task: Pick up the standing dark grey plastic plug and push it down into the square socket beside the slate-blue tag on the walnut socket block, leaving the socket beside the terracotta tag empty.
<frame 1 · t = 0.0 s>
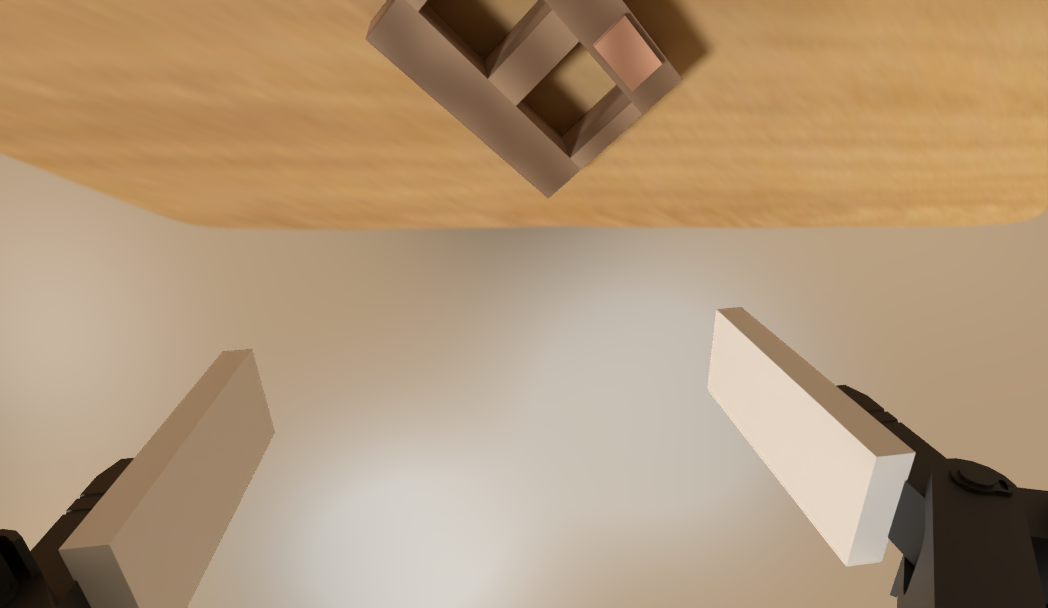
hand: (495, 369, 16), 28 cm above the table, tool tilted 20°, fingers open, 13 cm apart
socket block: (526, 42, 36), on the table
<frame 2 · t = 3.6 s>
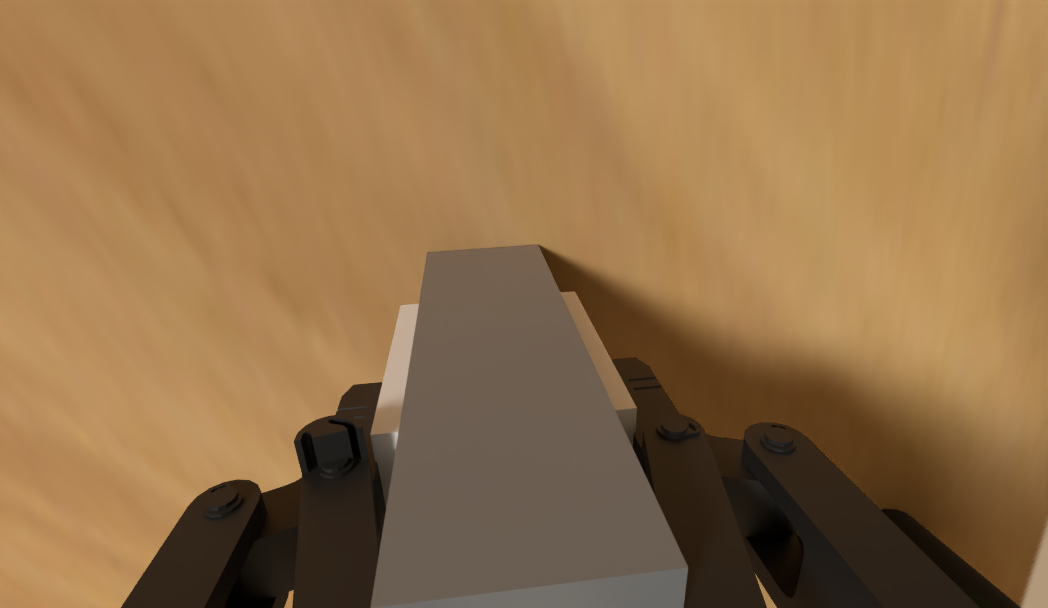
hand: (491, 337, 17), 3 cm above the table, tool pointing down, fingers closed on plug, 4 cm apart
plug: (486, 299, 20), on the table, touching gripper
cup: (865, 546, 29), on the table
when the fingers open (5 cm above the table, at t = 8.1 s): plug drops 2 cm, resting in socket block.
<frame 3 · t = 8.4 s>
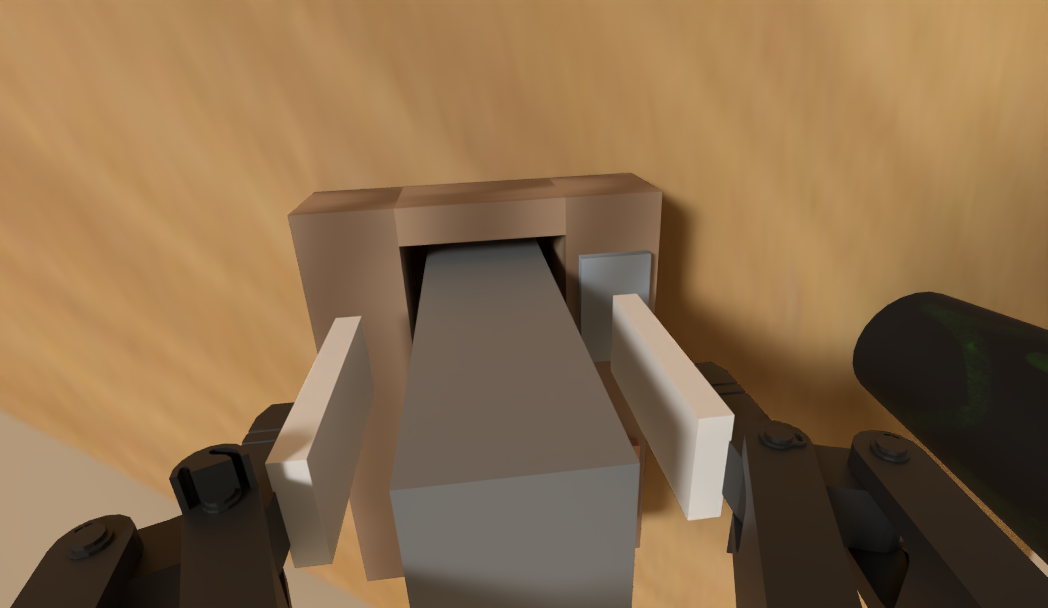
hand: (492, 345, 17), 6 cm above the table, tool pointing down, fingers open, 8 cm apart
plug: (484, 280, 22), resting in socket block
cup: (905, 343, 26), on the table
socket block: (490, 365, 24), on the table
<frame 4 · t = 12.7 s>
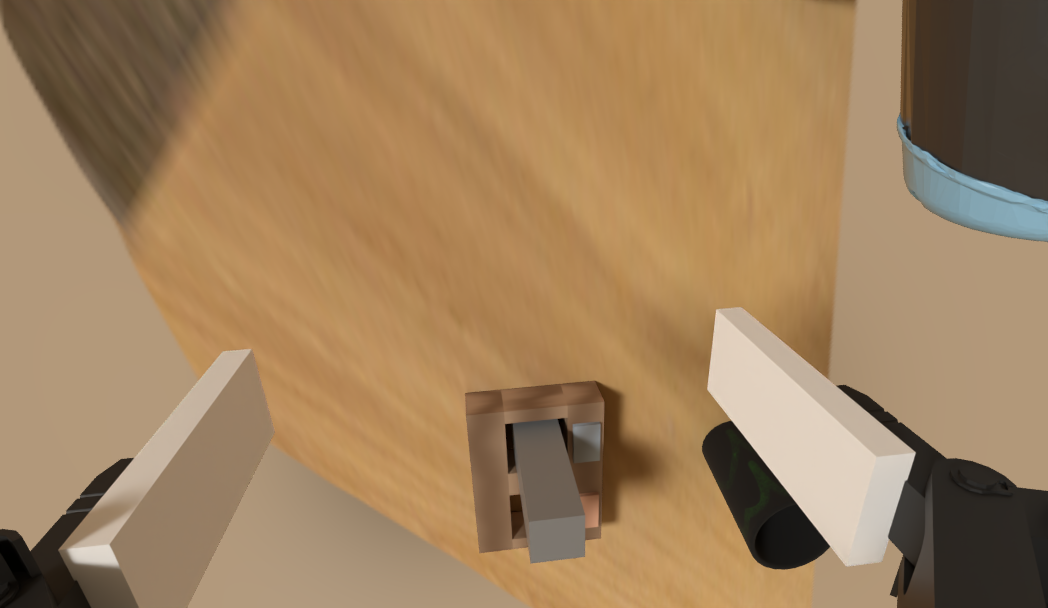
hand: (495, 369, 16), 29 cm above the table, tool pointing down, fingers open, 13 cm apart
plug: (532, 422, 51), resting in socket block
cup: (727, 442, 55), on the table
socket block: (533, 456, 53), on the table
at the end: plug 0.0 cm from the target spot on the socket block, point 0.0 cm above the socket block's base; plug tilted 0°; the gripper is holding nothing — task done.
